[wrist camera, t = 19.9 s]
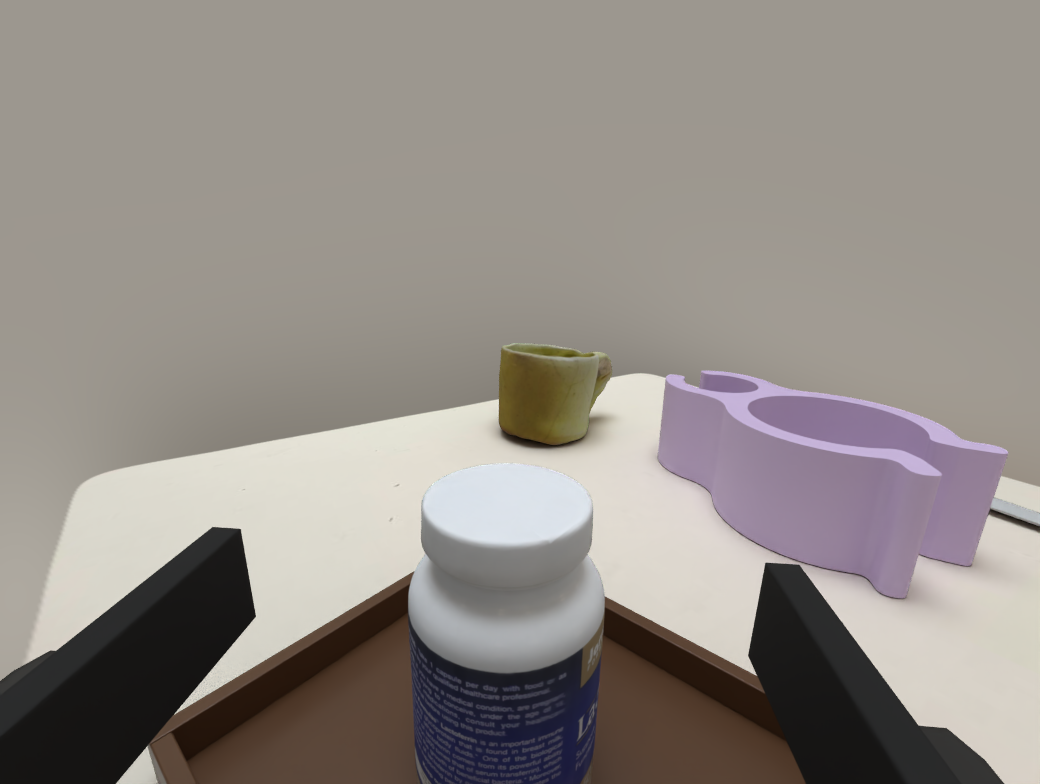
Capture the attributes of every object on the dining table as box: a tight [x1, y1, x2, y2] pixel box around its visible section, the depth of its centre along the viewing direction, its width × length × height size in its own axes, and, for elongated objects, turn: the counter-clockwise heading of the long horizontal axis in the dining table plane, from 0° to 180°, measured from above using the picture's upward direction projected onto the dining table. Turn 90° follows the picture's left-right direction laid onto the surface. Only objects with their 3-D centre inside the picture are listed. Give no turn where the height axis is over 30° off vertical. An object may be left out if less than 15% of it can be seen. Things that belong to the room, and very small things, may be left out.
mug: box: [499, 343, 612, 445], centre depth 46 cm, size 12×10×10 cm
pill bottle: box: [408, 463, 605, 784], centre depth 15 cm, size 6×6×10 cm
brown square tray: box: [148, 571, 806, 784], centre depth 16 cm, size 17×15×2 cm
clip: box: [658, 370, 1008, 598], centre depth 34 cm, size 20×12×7 cm, turn 25°
